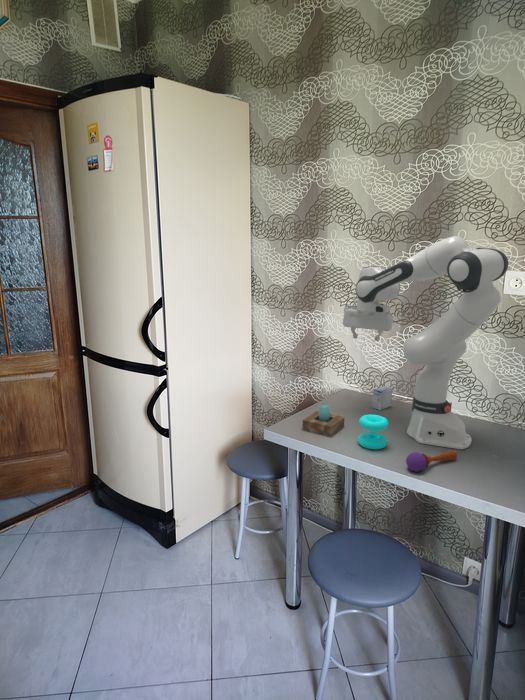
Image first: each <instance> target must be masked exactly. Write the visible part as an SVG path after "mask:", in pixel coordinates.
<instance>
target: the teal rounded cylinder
mask: <svg viewBox="0 0 525 700" xmlns="http://www.w3.org/2000/svg"><path fill="white" fill-rule="evenodd" d="M318 411H319V421H323V422H329V416H330V414H331V405H328V404H320V405H319V407H318Z"/></svg>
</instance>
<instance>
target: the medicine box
mask: <svg viewBox="0 0 525 700" xmlns="http://www.w3.org/2000/svg"><path fill="white" fill-rule="evenodd" d="M392 395H393V388H392V387H389V386H385V385H384V386H380V387H376V388H373V391H372V404H371V407H372V408H373V409H375V410H377V409H378V411H382V410H385V409H387V408H390V407H391V406H392Z"/></svg>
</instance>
